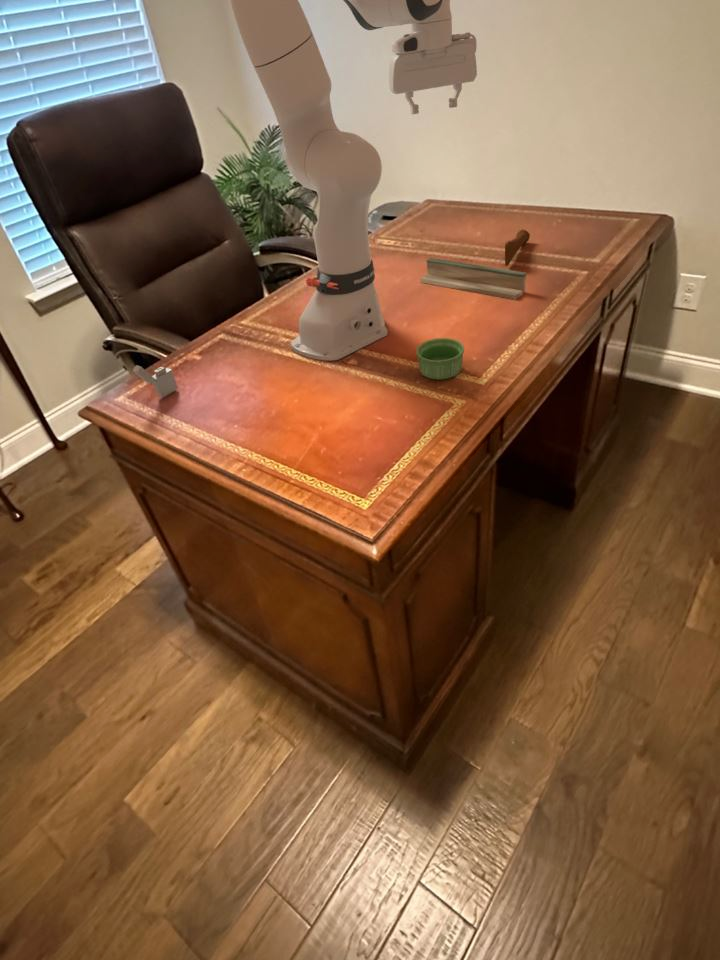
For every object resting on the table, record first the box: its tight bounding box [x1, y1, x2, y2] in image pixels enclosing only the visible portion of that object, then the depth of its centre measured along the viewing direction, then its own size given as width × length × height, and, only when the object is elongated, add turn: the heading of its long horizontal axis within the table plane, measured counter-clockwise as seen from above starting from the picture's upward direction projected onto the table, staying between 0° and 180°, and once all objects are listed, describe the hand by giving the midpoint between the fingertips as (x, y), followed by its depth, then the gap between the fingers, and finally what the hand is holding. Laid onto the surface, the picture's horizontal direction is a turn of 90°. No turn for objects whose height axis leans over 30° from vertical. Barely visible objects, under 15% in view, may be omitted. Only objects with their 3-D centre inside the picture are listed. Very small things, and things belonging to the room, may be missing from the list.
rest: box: [420, 257, 527, 301], centre depth 139 cm, size 4×26×4 cm, turn 51°
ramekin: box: [415, 337, 465, 380], centre depth 111 cm, size 9×9×4 cm
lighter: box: [132, 364, 179, 398], centre depth 115 cm, size 7×2×8 cm, turn 143°
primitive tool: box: [504, 229, 531, 267], centre depth 149 cm, size 19×6×4 cm
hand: (434, 110), depth 139 cm, fingers open, 8 cm apart
